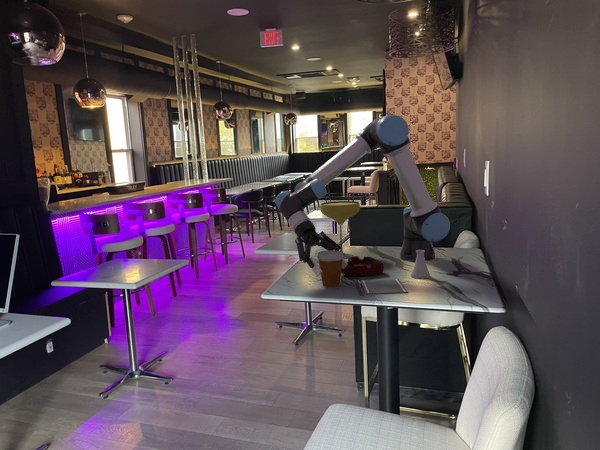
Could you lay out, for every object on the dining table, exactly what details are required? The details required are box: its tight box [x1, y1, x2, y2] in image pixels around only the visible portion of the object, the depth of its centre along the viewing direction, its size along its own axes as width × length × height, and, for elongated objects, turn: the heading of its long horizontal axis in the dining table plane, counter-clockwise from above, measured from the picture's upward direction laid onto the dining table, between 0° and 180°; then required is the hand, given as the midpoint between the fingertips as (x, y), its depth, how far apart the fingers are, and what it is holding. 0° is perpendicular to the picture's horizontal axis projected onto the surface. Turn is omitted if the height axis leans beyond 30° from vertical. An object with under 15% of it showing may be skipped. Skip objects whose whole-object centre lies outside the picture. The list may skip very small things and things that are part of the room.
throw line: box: [354, 279, 364, 297], centre depth 162 cm, size 1×19×1 cm, turn 179°
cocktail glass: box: [319, 200, 361, 260], centre depth 212 cm, size 18×18×25 cm
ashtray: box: [341, 255, 385, 278], centre depth 182 cm, size 18×16×5 cm
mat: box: [360, 278, 409, 295], centre depth 162 cm, size 14×16×1 cm
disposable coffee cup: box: [316, 250, 343, 288], centre depth 167 cm, size 10×10×12 cm
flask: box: [410, 250, 431, 279], centre depth 173 cm, size 7×7×10 cm
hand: (332, 270), depth 166 cm, fingers open, 13 cm apart
